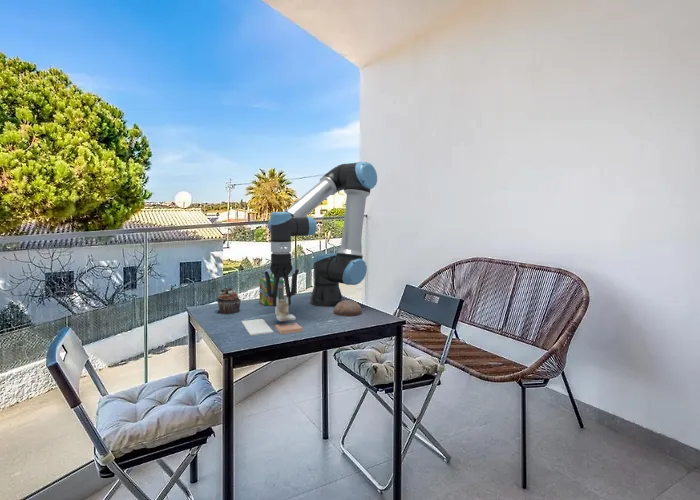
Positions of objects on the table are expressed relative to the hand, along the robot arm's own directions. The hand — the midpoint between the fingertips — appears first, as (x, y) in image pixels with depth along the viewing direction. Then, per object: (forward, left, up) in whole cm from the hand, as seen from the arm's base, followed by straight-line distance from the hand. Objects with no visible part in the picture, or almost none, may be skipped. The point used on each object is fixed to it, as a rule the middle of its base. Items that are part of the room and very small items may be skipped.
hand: (281, 313), depth 155 cm
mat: (+10, +3, -4) cm, 11 cm away
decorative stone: (-29, -5, -4) cm, 30 cm away
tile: (0, +6, -3) cm, 7 cm away
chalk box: (-4, -34, -4) cm, 34 cm away
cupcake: (+16, -26, -4) cm, 31 cm away
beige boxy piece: (0, +2, 0) cm, 2 cm away
